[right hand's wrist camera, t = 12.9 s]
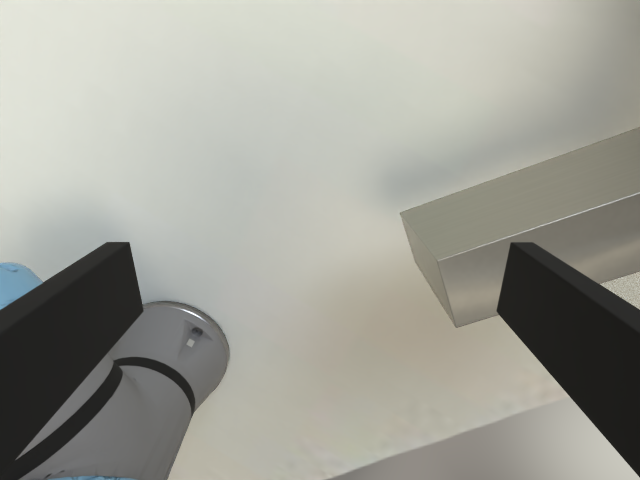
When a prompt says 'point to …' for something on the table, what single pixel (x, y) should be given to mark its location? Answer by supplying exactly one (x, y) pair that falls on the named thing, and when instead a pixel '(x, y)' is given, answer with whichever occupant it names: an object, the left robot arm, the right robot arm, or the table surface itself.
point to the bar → (532, 224)
